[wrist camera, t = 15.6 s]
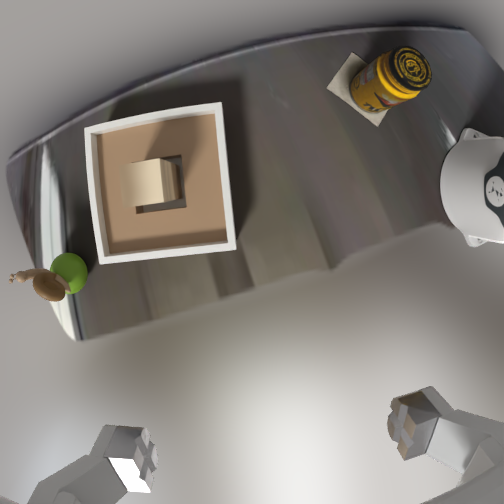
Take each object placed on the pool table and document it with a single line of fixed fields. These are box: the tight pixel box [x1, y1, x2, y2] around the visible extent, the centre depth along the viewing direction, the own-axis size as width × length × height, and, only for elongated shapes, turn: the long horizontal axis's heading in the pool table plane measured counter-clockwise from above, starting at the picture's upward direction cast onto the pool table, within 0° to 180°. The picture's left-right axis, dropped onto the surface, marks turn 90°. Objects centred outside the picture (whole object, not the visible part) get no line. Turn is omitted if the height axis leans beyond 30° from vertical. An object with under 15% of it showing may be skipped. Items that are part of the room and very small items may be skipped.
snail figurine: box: [9, 253, 88, 301], centre depth 33 cm, size 5×6×12 cm
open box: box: [85, 102, 236, 264], centre depth 34 cm, size 16×16×6 cm
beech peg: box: [119, 158, 183, 208], centre depth 31 cm, size 4×4×10 cm
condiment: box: [327, 46, 432, 126], centre depth 30 cm, size 7×8×12 cm
